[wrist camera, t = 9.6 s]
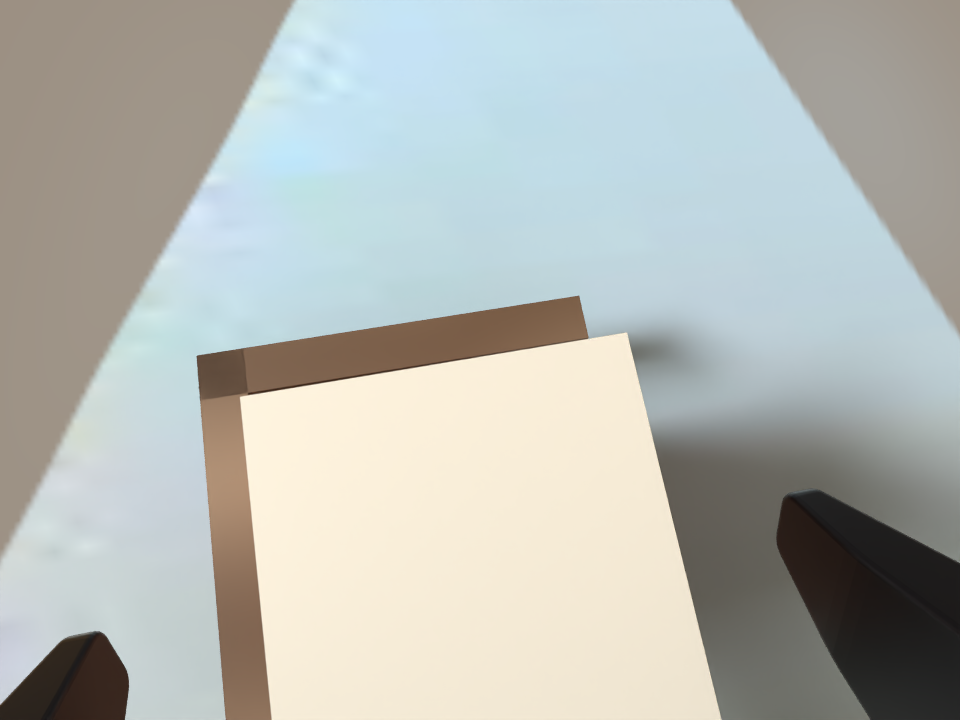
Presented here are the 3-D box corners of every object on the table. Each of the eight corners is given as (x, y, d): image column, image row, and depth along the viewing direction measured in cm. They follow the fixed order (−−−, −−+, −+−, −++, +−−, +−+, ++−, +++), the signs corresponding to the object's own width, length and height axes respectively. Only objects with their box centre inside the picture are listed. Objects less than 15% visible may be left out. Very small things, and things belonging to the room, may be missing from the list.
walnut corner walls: (648, 791, 16) (708, 871, 13) (296, 870, 16) (246, 980, 12) (552, 343, 19) (578, 295, 15) (250, 392, 18) (196, 355, 15)
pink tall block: (573, 628, 17) (728, 749, 8) (379, 667, 17) (284, 849, 7) (534, 437, 19) (626, 333, 9) (352, 469, 18) (240, 396, 8)
